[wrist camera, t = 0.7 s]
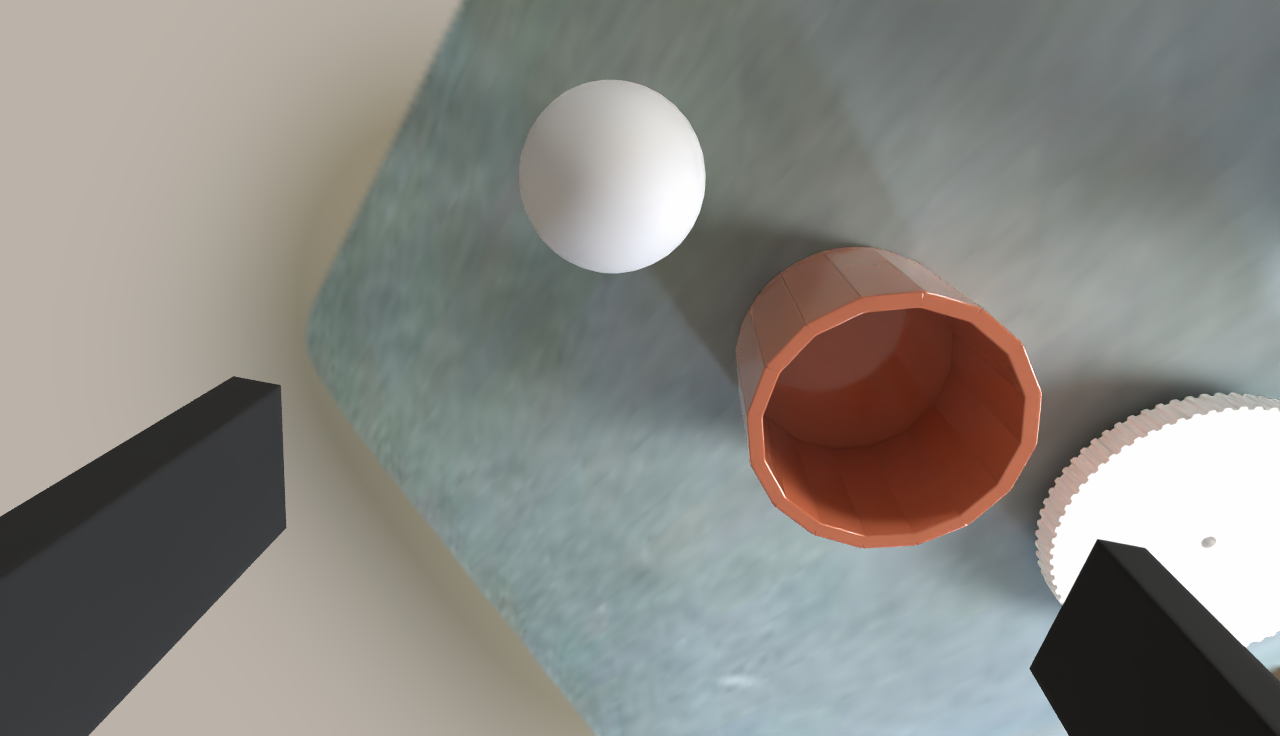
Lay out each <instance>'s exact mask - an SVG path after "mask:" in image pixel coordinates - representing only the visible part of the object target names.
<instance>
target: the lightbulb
mask: <svg viewBox="0 0 1280 736" xmlns="http://www.w3.org/2000/svg"><path fill="white" fill-rule="evenodd" d="M705 178H706V173H705V166H704V158H703V153H702V150H701V147H700V144H699V141H698V138H697V136H696V134H695V132H694V130H693V129H692V127H691V125H690V123H689V122H688V120H687V119H686V117H685V116H684V115H683V114H682V113H681V112H680V110H679V109H678V108H677V107H676V106H675V105H674V104H673V103H671V102H670V101H669V100H668V99H666V98H665V97H664V96H662V95H661V94H660V93H658V92H656V91H654V90H651V89H649V88H647V87H645V86H643V85H640V84H636V83H632V82H628V81H624V80H599V81H594V82H589V83H584V84H582V85H579V86H577V87H575V88H572V89H570V90H568V91H566V92H565V93H563V94H562V95H560V96H559V97H558V98H556V99H555V100H553V101H552V102H551V103H550V104H549V105H548V106H547V107H546V108H545V109H544V111H543V112H542V113H541V114H540V115H539V116H538V118H537V119H536V121H535V123H534V124H533V126H532V128H531V129H530V131H529V133H528V136H527V139H526V142H525V144H524V147H523V150H522V154H521V161H520V167H519V183H520V192H521V197H522V201H523V205H524V208H525V211H526V213H527V215H528V218H529V220H530V222H531V224H532V226H533V227H534V229H535V230H536V232H537V233H538V235H539V236H540V238H541V239H542V240H543V241H544V242H545V243H546V244H547V245H548V246H549V247H550V248H551V249H552V250H553V251H554V252H555V253H557V254H558V255H560V256H561V257H562V258H564V259H565V260H567V261H568V262H570V263H573V264H575V265H577V266H579V267H581V268H584V269H588V270H592V271H596V272H600V273H623V272H630V271H635V270H638V269H641V268H644V267H647V266H649V265H652V264H654V263H656V262H657V261H659V260H661V259H662V258H664V257H666V256H667V255H669V254H670V253H671V252H672V251H673V250H674V249H675V248H676V247H678V246H679V245H680V244H681V243H682V241H683V240H684V239H685V237H686V236H687V235H688V233H689V232H690V231H691V229H692V227H693V225H694V223H695V221H696V219H697V217H698V215H699V213H700V209H701V206H702V202H703V198H704V194H705Z"/></svg>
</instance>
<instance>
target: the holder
mask: <svg viewBox="0 0 1280 736" xmlns="http://www.w3.org/2000/svg"><path fill="white" fill-rule="evenodd" d="M736 368H737V377H738V390H739V396H740V403H741V409H742V416H743V422H744V429H745V435H746V442H747V448H748V454H749V461H750V464H751V467H752V469H753V470H754V472H755V474H756V476H757V477H758V479H759V481H760V483H761V484H762V486H763V488H764V490H765V491H766V493H767V495H768V497H769V498H770V500H771V502H772V504H774V506H775V507H777V508H778V509H779V510H781V511H782V512H783V513H785V514H786V515H787V516H789V517H790V518H791V519H793V520H794V521H795V522H797V523H798V524H799V525H801V526H802V527H803V528H805V529H806V530H807V531H809V532H810V533H811V534H814V535H816V536H820V537H823V538H827V539H831V540H834V541H838V542H841V543H845V544H848V545H852V546H856V547H859V548H879V547H898V546H914V545H919V544H921V543H924V542H927V541H929V540H932V539H934V538H937V537H940V536H942V535H945V534H947V533H950V532H953V531H955V530H958V529H961V528H963V527H966V526H967V525H969V524H971V523H972V522H973V521H974V520H975V519H977V518H978V517H979V516H980V515H982V514H983V513H984V512H985V511H986V510H988V509H989V508H990V507H991V506H992V505H994V504H995V503H996V502H997V501H999V500H1000V499H1001V498H1002V497H1003V496H1005V495H1006V494H1007V493H1008V492H1009V490H1011V489H1012V487H1013V485H1014V484H1015V482H1016V480H1017V479H1018V477H1019V475H1020V473H1021V472H1022V470H1023V468H1024V466H1025V465H1026V463H1027V461H1028V459H1029V458H1030V456H1031V454H1032V452H1033V451H1034V449H1035V447H1036V444H1037V440H1038V430H1039V420H1040V410H1041V400H1042V393H1041V388H1040V386H1039V383H1038V381H1037V378H1036V376H1035V373H1034V371H1033V368H1032V366H1031V363H1030V360H1029V358H1028V355H1027V353H1026V350H1025V348H1024V345H1023V344H1022V343H1021V342H1020V341H1019V340H1018V339H1017V338H1016V337H1015V336H1014V335H1012V334H1011V333H1010V332H1009V331H1008V330H1007V329H1006V328H1004V327H1003V326H1002V325H1001V324H1000V323H999V322H998V321H996V320H995V319H994V318H993V317H992V316H991V315H990V314H988V313H987V312H986V311H985V310H984V309H983V308H981V307H980V306H979V305H977V304H976V303H974V302H973V301H972V300H970V299H969V298H967V297H966V296H965V295H963V294H962V293H960V292H959V291H958V290H956V289H955V288H953V287H952V286H951V285H949V284H948V283H946V282H945V281H944V280H942V279H941V278H939V277H938V276H937V275H935V274H934V273H932V272H931V271H930V270H928V269H927V268H925V267H924V266H923V265H921V264H920V263H918V262H916V261H914V260H910V259H908V258H906V257H904V256H902V255H899V254H896V253H893V252H891V251H887V250H882V249H878V248H871V247H842V248H836V249H830V250H826V251H823V252H820V253H816V254H813V255H811V256H809V257H806V258H804V259H802V260H800V261H798V262H796V263H794V264H793V265H791V266H789V267H788V268H786V269H785V270H783V271H782V272H781V273H780V274H778V275H777V276H776V277H774V278H773V279H772V280H771V281H770V282H769V283H768V284H767V285H766V286H765V287H764V288H763V289H762V291H761V292H760V293H759V295H758V296H757V297H756V298H755V300H754V301H753V303H752V305H751V306H750V308H749V310H748V311H747V313H746V316H745V318H744V320H743V323H742V325H741V328H740V332H739V336H738V340H737V347H736Z"/></svg>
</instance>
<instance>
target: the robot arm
mask: <svg viewBox="0 0 1280 736" xmlns="http://www.w3.org/2000/svg"><path fill="white" fill-rule="evenodd" d="M285 529H286V511H285V486H284V459H283V432H282V407H281V386H280V385H277V384H271V383H265V382H260V381H255V380H250V379H245V378H239V377H232V378H230V379H228V380H227V381H225V382H223V383H222V384H220V385H218V386H217V387H215V388H213V389H212V390H210V391H208V392H207V393H205V394H203V395H202V396H200V397H199V398H197V399H195V400H194V401H192V402H190V403H189V404H187V405H185V406H183V407H182V408H180V409H179V410H177V411H175V412H174V413H172V414H170V415H168V416H167V417H165V418H164V419H162V420H160V421H159V422H157V423H155V424H154V425H152V426H150V427H149V428H147V429H145V430H144V431H142V432H140V433H139V434H137V435H135V436H134V437H132V438H130V439H129V440H127V441H125V442H124V443H122V444H120V445H119V446H117V447H115V448H114V449H112V450H110V451H109V452H107V453H105V454H104V455H102V456H100V457H99V458H97V459H95V460H94V461H92V462H91V463H89V464H87V465H86V466H84V467H82V468H80V469H79V470H77V471H75V472H74V473H72V474H71V475H69V476H67V477H65V478H64V479H62V480H61V481H59V482H57V483H56V484H54V485H52V486H51V487H49V488H47V489H46V490H44V491H42V492H41V493H39V494H37V495H36V496H34V497H32V498H31V499H29V500H27V501H26V502H24V503H22V504H21V505H19V506H17V507H16V508H14V509H12V510H11V511H9V512H7V513H6V514H4V515H2V516H1V517H0V736H88V735H89V734H90V733H91V732H92V731H93V730H94V729H95V728H96V727H97V726H98V725H99V724H100V723H101V722H102V721H103V720H104V719H105V718H106V717H107V716H108V715H109V713H110V712H111V711H112V710H113V709H114V708H115V707H116V706H117V705H118V704H119V703H120V702H121V701H122V700H123V699H124V698H125V696H126V695H127V694H128V693H129V692H130V691H131V690H132V689H133V688H134V687H135V686H136V685H137V684H138V683H139V682H140V681H141V680H142V679H143V678H144V677H145V676H146V675H147V674H148V672H149V671H150V670H151V669H152V668H153V667H154V666H155V665H156V664H157V663H158V662H159V661H160V660H161V659H162V658H163V657H164V656H165V655H166V653H168V651H169V650H170V649H171V648H172V647H173V646H174V645H175V644H176V643H177V642H178V641H179V640H180V639H181V638H182V636H184V635H185V634H186V632H187V631H188V630H189V629H190V628H191V627H192V626H193V625H194V624H195V623H196V622H197V621H198V620H199V619H200V618H201V617H202V616H203V614H205V613H206V612H207V610H208V609H209V608H210V607H211V606H212V605H213V604H214V603H215V602H216V601H217V600H218V599H219V598H220V597H221V596H222V595H223V594H224V593H225V592H226V590H227V589H228V588H229V587H230V586H231V585H232V584H233V583H234V582H235V581H236V580H237V579H238V578H239V577H240V576H241V575H242V574H243V573H244V571H246V569H247V568H248V567H249V566H250V565H251V564H252V563H253V562H254V561H255V560H256V559H257V558H258V557H259V556H260V555H261V554H262V553H263V552H264V550H266V548H267V547H268V546H269V545H270V544H271V543H272V542H273V541H274V540H275V539H276V538H277V537H278V536H279V535H280V534H281V533H282V532H283V531H284V530H285ZM1029 669H1030V670H1031V672H1032V674H1033V675H1034V677H1035V679H1036V680H1037V682H1038V684H1039V686H1040V687H1041V689H1042V691H1043V692H1044V694H1045V696H1046V697H1047V699H1048V701H1049V703H1050V704H1051V706H1052V708H1053V709H1054V711H1055V713H1056V714H1057V716H1058V718H1059V720H1060V721H1061V723H1062V725H1063V726H1064V728H1065V730H1066V731H1067V733H1068V735H1069V736H1280V681H1279V680H1278V679H1276V677H1275V676H1274V675H1273V674H1272V673H1271V672H1270V671H1269V670H1268V669H1267V668H1266V667H1265V666H1264V665H1263V664H1262V663H1261V662H1260V661H1259V660H1258V659H1257V658H1256V657H1255V656H1254V655H1253V654H1251V653H1250V652H1249V651H1248V650H1247V649H1246V648H1245V647H1244V646H1243V645H1242V644H1241V643H1240V642H1239V641H1238V640H1237V639H1236V638H1235V637H1234V636H1233V635H1232V634H1231V633H1230V632H1229V631H1228V630H1227V629H1226V628H1225V627H1224V626H1223V625H1222V624H1221V623H1220V622H1219V621H1218V620H1217V619H1216V618H1215V617H1214V616H1213V615H1212V614H1211V613H1210V612H1209V611H1208V610H1207V609H1206V608H1205V607H1204V606H1203V605H1202V604H1201V603H1200V602H1199V601H1198V600H1197V599H1196V598H1195V597H1194V596H1193V595H1192V594H1191V593H1190V592H1189V591H1188V590H1187V589H1186V588H1185V587H1184V586H1183V585H1182V584H1181V583H1180V582H1179V581H1178V580H1177V579H1176V578H1175V577H1174V576H1173V575H1172V574H1171V573H1170V572H1169V571H1168V570H1167V569H1166V568H1165V567H1164V566H1163V565H1162V564H1161V563H1160V562H1159V561H1158V560H1157V559H1156V558H1155V557H1154V556H1153V555H1152V554H1151V553H1150V552H1149V551H1148V550H1147V549H1146V548H1144V547H1138V546H1133V545H1128V544H1122V543H1117V542H1112V541H1106V540H1101V539H1097V540H1096V542H1095V544H1094V546H1093V548H1092V550H1091V552H1090V554H1089V556H1088V558H1087V560H1086V561H1085V563H1084V565H1083V567H1082V569H1081V571H1080V573H1079V575H1078V577H1077V579H1076V581H1075V582H1074V584H1073V586H1072V588H1071V590H1070V592H1069V594H1068V596H1067V598H1066V600H1065V602H1064V604H1063V605H1062V607H1061V609H1060V611H1059V613H1058V615H1057V617H1056V619H1055V621H1054V623H1053V625H1052V626H1051V628H1050V630H1049V632H1048V634H1047V636H1046V638H1045V640H1044V642H1043V644H1042V646H1041V647H1040V649H1039V651H1038V653H1037V655H1036V657H1035V659H1034V661H1033V663H1032V665H1031V667H1030V668H1029Z"/></svg>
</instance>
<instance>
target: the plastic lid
mask: <svg viewBox="0 0 1280 736" xmlns="http://www.w3.org/2000/svg"><path fill="white" fill-rule="evenodd" d="M1114 427H1115V428H1114V429H1112V430H1110V431H1109V430H1105V431H1104V432H1103V433H1102V437H1100V438H1099V439H1096V438H1094V439H1093V440H1092V441H1091V442H1090V443H1091V445H1090V446H1089V447H1088V448H1085V447H1084V448H1082V449H1081V450H1080V453H1081V454H1080V455H1079V456H1078V457H1073V458H1072V459H1071V460H1070V462H1071V465H1070V466H1069V467H1064V469H1063V470H1062V472H1063V475H1062V476H1061V477H1057V478H1056V480H1055V481H1054V482H1055V483H1056V485H1055V487H1054V488H1050V489H1049V491H1048V493H1049V494H1050V496H1049V498H1045V500H1044V502H1043V503H1044V504H1045V508H1044V509H1041V510H1040V513H1039V514H1040V515H1041V516H1042V517H1041V519H1040V520H1038V521H1037V525H1038V526H1039V530H1036V533H1035V535H1036V536H1037V537H1038V540H1036V541H1035V545H1036V547H1037V548H1038V549H1039V550H1037V551H1036V555H1037V557H1038V558H1039V559H1040V560H1038V565H1039V566H1040V567H1041V569H1042V570H1040V571H1041V574H1042V575H1043V576H1044V578H1045V579H1044V580H1045V582H1046V583H1047V585H1048V586H1049V588H1050V590H1051V591H1052V593H1053V594H1054V595H1055V597H1056V598H1057V599H1058V601H1059V602H1060V603H1061V605H1063V604H1064V602H1065V600H1066V598H1067V596H1068V594H1069V592H1070V590H1071V588H1072V586H1073V584H1074V582H1075V581H1076V579H1077V577H1078V575H1079V573H1080V571H1081V569H1082V567H1083V565H1084V563H1085V561H1086V560H1087V558H1088V556H1089V554H1090V552H1091V550H1092V548H1093V546H1094V544H1095V542H1096V540H1097V539H1101V540H1106V541H1112V542H1117V543H1122V544H1128V545H1133V546H1138V547H1144V548H1146V549H1147V550H1148V551H1149V552H1150V553H1151V554H1152V555H1153V556H1154V557H1155V558H1156V559H1157V560H1158V561H1159V562H1160V563H1161V564H1162V565H1163V566H1164V567H1165V568H1166V569H1167V570H1168V571H1169V572H1170V573H1171V574H1172V575H1173V576H1174V577H1175V578H1176V579H1177V580H1178V581H1179V582H1180V583H1181V584H1182V585H1183V586H1184V587H1185V588H1186V589H1187V590H1188V591H1189V592H1190V593H1191V594H1192V595H1193V596H1194V597H1195V598H1196V599H1197V600H1198V601H1199V602H1200V603H1201V604H1202V605H1203V606H1204V607H1205V608H1206V609H1207V610H1208V611H1209V612H1210V613H1211V614H1212V615H1213V616H1214V617H1215V618H1216V619H1217V620H1218V621H1219V622H1220V623H1221V624H1222V625H1223V626H1224V627H1225V628H1226V629H1227V630H1228V631H1229V632H1230V633H1231V634H1232V635H1233V636H1234V637H1235V638H1236V639H1237V640H1238V641H1239V642H1240V643H1241V644H1242V645H1243V646H1244V647H1246V646H1249V645H1250V643H1251V642H1253V641H1256V642H1260V641H1262V640H1263V638H1264V637H1266V636H1270V637H1272V636H1274V635H1276V632H1277V631H1279V630H1280V401H1279V400H1277V399H1269V398H1267V397H1265V396H1260V395H1259V396H1258V397H1255V396H1253V395H1252V394H1247V393H1245V394H1244V395H1243V396H1241V395H1239V394H1238V393H1230V394H1229V395H1228V396H1227V395H1225V394H1223V393H1215V394H1214V396H1210V395H1208V394H1201V395H1200V396H1199V397H1198V398H1194V397H1192V396H1188V397H1185V399H1184V400H1183V401H1179V400H1177V399H1174V400H1171V401H1170V403H1169V404H1167V405H1163V404H1162V403H1161V404H1158V405H1156V406H1155V409H1152V410H1148V409H1145V410H1142V411H1141V414H1140V415H1138V416H1134V415H1131V416H1129V417H1128V418H1127V421H1126V422H1124V423H1121V422H1118V423H1117V424H1115V425H1114Z"/></svg>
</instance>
